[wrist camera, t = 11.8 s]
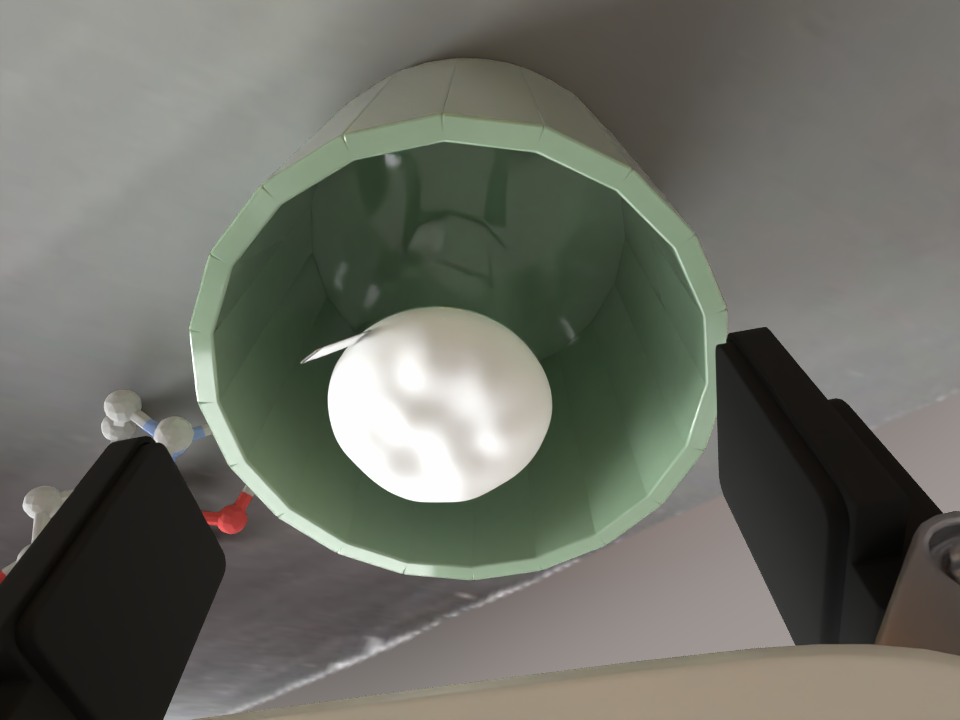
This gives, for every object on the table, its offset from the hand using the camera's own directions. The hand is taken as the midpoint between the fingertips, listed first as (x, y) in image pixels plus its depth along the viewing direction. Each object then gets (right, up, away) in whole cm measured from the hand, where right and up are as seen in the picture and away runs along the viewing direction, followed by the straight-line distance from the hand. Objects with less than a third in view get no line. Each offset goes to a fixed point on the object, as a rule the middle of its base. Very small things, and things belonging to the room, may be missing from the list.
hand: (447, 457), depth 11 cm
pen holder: (0, +5, +10) cm, 11 cm away
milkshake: (0, +5, +9) cm, 11 cm away
